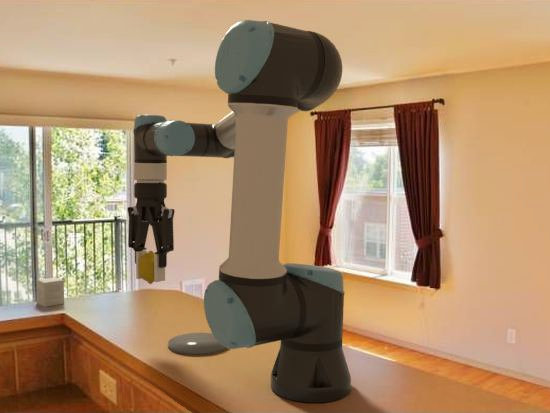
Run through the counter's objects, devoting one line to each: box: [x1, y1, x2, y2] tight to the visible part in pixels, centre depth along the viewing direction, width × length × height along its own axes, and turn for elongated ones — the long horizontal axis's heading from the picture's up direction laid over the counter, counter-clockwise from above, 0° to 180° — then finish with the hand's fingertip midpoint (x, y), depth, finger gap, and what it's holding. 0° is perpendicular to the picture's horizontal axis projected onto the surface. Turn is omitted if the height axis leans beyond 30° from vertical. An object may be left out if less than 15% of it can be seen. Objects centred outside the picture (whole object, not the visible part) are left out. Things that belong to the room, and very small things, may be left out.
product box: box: [36, 277, 65, 308], centre depth 168 cm, size 6×6×7 cm
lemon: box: [139, 250, 155, 285], centre depth 133 cm, size 6×6×8 cm
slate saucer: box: [167, 332, 228, 356], centre depth 130 cm, size 14×14×1 cm
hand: (150, 279), depth 133 cm, fingers closed on lemon, 5 cm apart
